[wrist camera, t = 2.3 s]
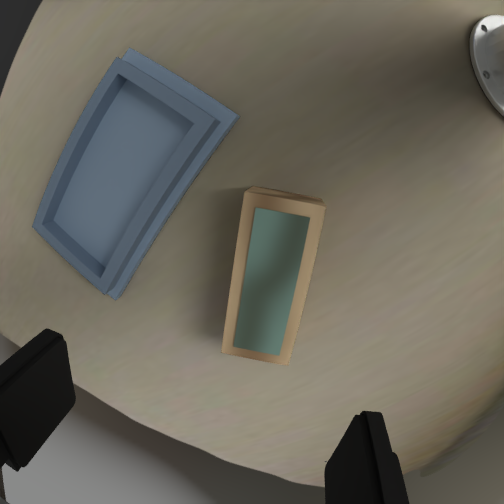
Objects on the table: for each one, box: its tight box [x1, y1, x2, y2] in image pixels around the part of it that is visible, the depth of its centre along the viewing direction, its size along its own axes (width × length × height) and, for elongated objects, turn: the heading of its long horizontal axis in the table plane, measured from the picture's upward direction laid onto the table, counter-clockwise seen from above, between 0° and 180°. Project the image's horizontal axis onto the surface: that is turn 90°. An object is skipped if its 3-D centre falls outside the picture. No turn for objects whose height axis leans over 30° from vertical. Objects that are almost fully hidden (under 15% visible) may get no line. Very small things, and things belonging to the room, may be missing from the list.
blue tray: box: [32, 48, 240, 300], centre depth 27 cm, size 13×22×3 cm, turn 143°
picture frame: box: [221, 186, 326, 366], centre depth 27 cm, size 6×14×5 cm, turn 171°
